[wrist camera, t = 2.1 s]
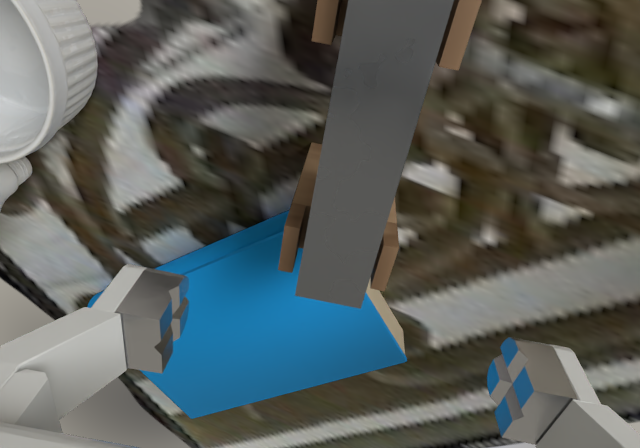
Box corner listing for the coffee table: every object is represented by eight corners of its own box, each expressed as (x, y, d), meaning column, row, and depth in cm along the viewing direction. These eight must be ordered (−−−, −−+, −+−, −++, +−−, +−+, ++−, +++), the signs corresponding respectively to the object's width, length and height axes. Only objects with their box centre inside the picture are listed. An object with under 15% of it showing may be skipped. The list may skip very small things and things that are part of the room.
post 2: (391, 158, 32) (398, 248, 22) (381, 193, 33) (384, 291, 24) (311, 142, 32) (284, 225, 22) (305, 178, 33) (278, 270, 24)
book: (409, 361, 38) (192, 423, 46) (405, 325, 42) (204, 389, 50) (313, 211, 31) (75, 317, 39) (318, 184, 34) (100, 286, 43)
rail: (448, -38, 17) (464, -35, 14) (362, 267, 26) (360, 308, 23) (361, -55, 17) (358, -57, 14) (303, 255, 26) (294, 295, 23)
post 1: (443, -28, 25) (486, -14, 16) (428, 27, 27) (458, 70, 17) (343, -48, 25) (324, -46, 16) (333, 8, 27) (311, 41, 17)
